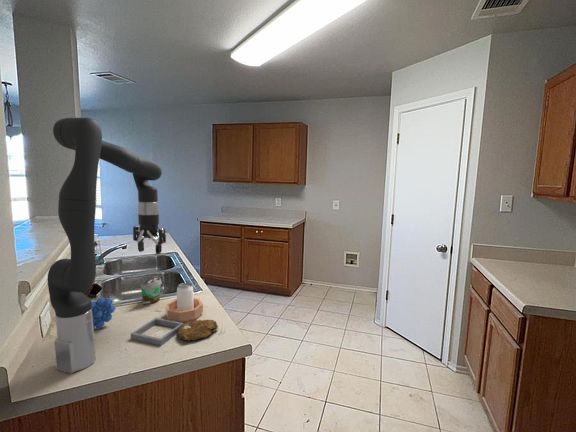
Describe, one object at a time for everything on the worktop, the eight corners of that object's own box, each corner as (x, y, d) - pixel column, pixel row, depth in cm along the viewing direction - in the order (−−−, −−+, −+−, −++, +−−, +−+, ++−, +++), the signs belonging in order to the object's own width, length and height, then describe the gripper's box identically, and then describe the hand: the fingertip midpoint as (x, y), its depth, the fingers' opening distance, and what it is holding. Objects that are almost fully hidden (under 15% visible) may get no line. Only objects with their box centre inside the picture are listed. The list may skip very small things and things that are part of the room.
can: (188, 317, 128) (188, 289, 126) (174, 315, 129) (173, 287, 127) (196, 310, 134) (196, 283, 132) (182, 308, 135) (182, 281, 133)
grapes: (113, 319, 126) (111, 291, 124) (118, 325, 121) (116, 296, 119) (78, 329, 118) (76, 298, 116) (82, 336, 113) (80, 304, 112)
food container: (155, 307, 138) (154, 285, 137) (141, 306, 138) (140, 284, 137) (166, 295, 150) (165, 275, 149) (153, 295, 151) (153, 275, 149)
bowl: (189, 325, 123) (188, 314, 122) (159, 319, 127) (158, 308, 126) (208, 310, 136) (208, 300, 136) (180, 305, 140) (180, 295, 140)
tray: (161, 345, 109) (160, 340, 108) (130, 339, 112) (130, 333, 112) (184, 328, 121) (183, 323, 121) (155, 322, 125) (155, 317, 124)
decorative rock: (210, 322, 127) (173, 336, 117) (209, 313, 126) (172, 325, 117) (223, 333, 118) (185, 348, 109) (223, 322, 117) (184, 337, 108)
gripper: (126, 212, 124) (128, 252, 126) (156, 215, 119) (157, 256, 121) (141, 210, 131) (142, 248, 133) (169, 213, 126) (170, 252, 129)
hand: (149, 252), depth 127 cm, fingers open, 8 cm apart
